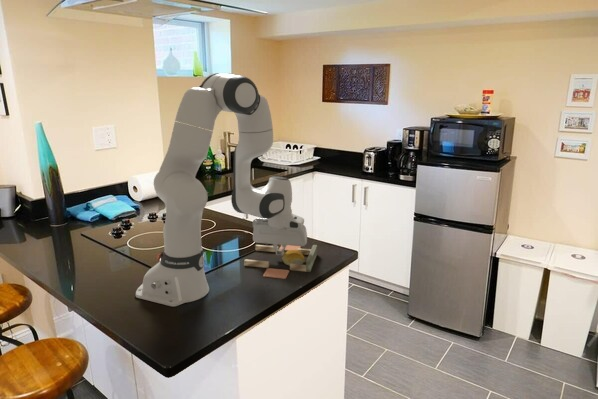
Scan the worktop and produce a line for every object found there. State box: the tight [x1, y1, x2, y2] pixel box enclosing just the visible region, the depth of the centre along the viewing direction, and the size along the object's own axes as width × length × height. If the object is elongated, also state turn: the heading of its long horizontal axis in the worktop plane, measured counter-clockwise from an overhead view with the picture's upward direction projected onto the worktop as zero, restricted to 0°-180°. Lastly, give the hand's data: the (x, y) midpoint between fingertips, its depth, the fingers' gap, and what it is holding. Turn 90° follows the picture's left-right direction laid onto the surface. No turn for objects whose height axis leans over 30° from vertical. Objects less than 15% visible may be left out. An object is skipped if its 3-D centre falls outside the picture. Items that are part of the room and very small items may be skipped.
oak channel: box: [243, 244, 318, 273], centre depth 156 cm, size 24×15×4 cm, turn 79°
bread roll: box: [281, 250, 306, 267], centre depth 155 cm, size 8×9×4 cm
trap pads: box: [262, 245, 302, 280], centre depth 157 cm, size 8×29×1 cm, turn 169°
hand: (279, 254), depth 156 cm, fingers closed
